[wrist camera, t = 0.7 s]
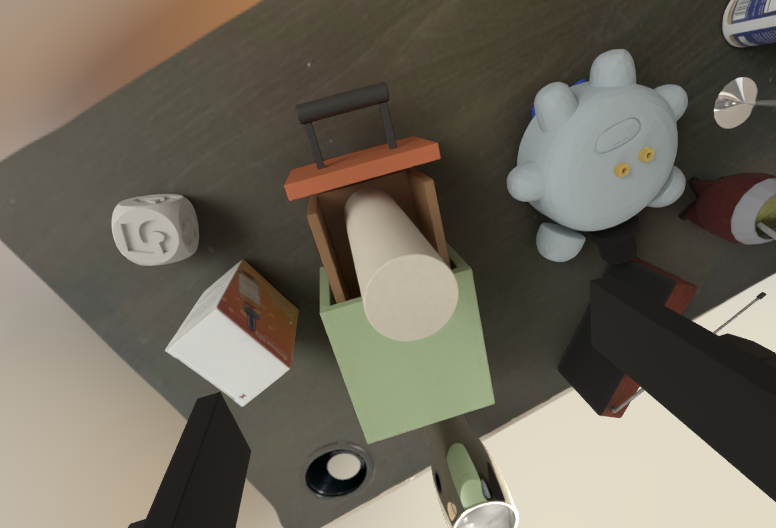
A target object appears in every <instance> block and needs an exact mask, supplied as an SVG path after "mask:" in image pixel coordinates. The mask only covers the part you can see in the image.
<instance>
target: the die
mask: <svg viewBox="0 0 776 528" xmlns="http://www.w3.org/2000/svg"><path fill="white" fill-rule="evenodd" d="M112 232H113V237H114V240H115V243H116V245H117V247H118V249H119V251H120V252H121V253H122V254H123V255H124V256H125V257H126V258H128V259H129V260H131V261H132V262H134V263H136V264H139V265H145V266H153V265H163V264H169V263H173V262H177V261H180V260H183V259H186V258H188V257H190V256H192V255H193V254H194V253H195V251H196V250H197V247H198V243H199V226H198V220H197V216H196V213H195V210H194V207H193V205H192V204H191V202H190V201H189V200H187V199H186V198H185V197H183V196H182V195H178V194H157V195H147V196H140V197H135V198H130V199H126V200H123V201H121V202H119V203H118V204H117V206H116V207H115V209H114V211H113V215H112Z"/></svg>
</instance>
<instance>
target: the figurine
mask: <svg viewBox="0 0 776 528" xmlns="http://www.w3.org/2000/svg"><path fill="white" fill-rule="evenodd" d="M687 105H688V98H687V93H686V92H685V91H684V90H683V88H682V87H680V86H677V85H669V84H668V85H663V86H659V87H657V88H655V89H653V90H652V89H651V88H648V87H646V86H643V85H638V84H636V70H635V66H634V62H633V58H632V56H631V55H630V53H629V52H628V51H626V50H624V49H614V50H609V51H607V52H605V53H602V54H600V55H599V56H598V57H597V58H596V59H595V61H594V63H593V64H592V67H591V71H590V82H586V80H585V79H581V80H579V81H578V82H576V83H575V84H574V85H573V86H571V87H569V86H568V85H567V84H564V83H561V82H554V83H550V84H548V85H547V86H545V87H544V88H542V89H541V90H540V91H539V92H538V94H537V95H536V97H535V101H534V107H532V118H533V119H532V120H531V122H530V124H529V125H528V127H527V129H526V131H525V133H524V135H523V138H522V141H521V143H520V147H519V152H518V158H517V167H515V168H514V169H513V170H512V171H511V172H510V173H509V175H508V177H507V188H508V191H509V193H510V194H511V195H512V196H513V198H515V199H517V200H519V201H523V202H529V203H530V204H531V205H532V206H533V207H534V208H535V209H536V210H538V211H539V212H540V213H542V214H544V215H545V216H547V217H549V218H550V219H552V220H554V221H555V222H557V223H559V224H561V225H563V226H561V225H557V224H553V223H542V224H541V226H540V228H539V230H538V233H537V237H536V244H537V248H538V251H539V252H540V254H541V255H542V256H544V257H545V258H547V259H549V260H551V261H555V262H565V261H568V260H570V259H572V258H573V257H575V256H576V255H577V254H578V253H579V251H580V250H581V248H582V246H583V244H584V242H585V240H586V238H585V237H584V236H583V235H582V234H580V233H578V232H576V231H574V230H579V231H588V234H589V237H590V238H591V239H592V240H594V241H596V242H598V246H599V251H600V255H601V257H602V259H603V260H605V261H606V262H608V263H612V264H620V263H624V262H627V261H630V260H631V259H632V258H634V256H635V255H636V244H635V238H634V235H635V234H636V233H637V232H638V231H639V229H640V221H639V218H638V217H637V216H636V214H637V213H638V212H640V211H641V210H642V209H643V208H645V207H646V206H648V207H664V206H667V205H670V204H672V203H674V202H675V201H676V200H677V199H678V198H679V197H680V196H681V195H682V193H683V192H684V189H685V183H686V180H685V176H684V174H683V173H682V172H681V170H680V169H679V168H677V167H676V166H674V165H673V164H674V161H675V158H676V153H677V147H678V133H677V125H676V121H677V120H678V119H679V118H680V117H681V116H682V115H683V114H684V112H685V110H686V108H687ZM565 226H566V227H565ZM570 228H571V229H570ZM572 229H574V230H572Z"/></svg>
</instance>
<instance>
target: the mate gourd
mask: <svg viewBox="0 0 776 528" xmlns="http://www.w3.org/2000/svg"><path fill="white" fill-rule="evenodd" d="M688 183H689V185H690V187H691V188H692V190H693V192H694V193H695V195H696V197H697V198H696V200H695V201H694V202H693V203H691V204H690V205H689V206H688V207H687V208H686V209H685V210H684V211H682V212H681V213H680V214H679V218H680V219H682V220H686V219H688V220H690V221H691V222H693V223H694V224H695V225H697V226H698V227H701V228H703V229H705V230H707V231H709V232H711V233H712V234H714V235H716V236H719V237H721V238H723V239H725V240H728V241H730V242H734V243H740V244H761V243H766V242H770V241H772V240H776V177H775V176H773V175H769V174H765V173H742V174H734V175H730V176H727V177H721V178H720V179H719V180H717V181H699V180H698V178H694V177H693V178H692V179H690V180H689V182H688Z"/></svg>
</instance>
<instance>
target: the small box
mask: <svg viewBox="0 0 776 528" xmlns="http://www.w3.org/2000/svg"><path fill="white" fill-rule="evenodd" d="M298 312H299V310H298V308H296V307H295V306H294V305H293V304H292V303H290V302H289V301H288V300H287V299H286V298H285V297H284V296H283V295H281V294H280V293H279V292H278V291H277V290H276V289H275V288H274V287H273V286H272V285H271V284H270V283H269V282H268V281H266V280H265V279H264V278H263V277H262V276H261V275H260V274H259V273H258V272H257V271H256V270H255V269H254V268H252V267H251V266H250V265H249V264H248V263H247V262H246V261H245V260H241V261H240V262H238V263H237V264H236V265H235V266H234V267H232V268H231V269H230V270H229V271H228V272H226V273H225V274H224V275H223V276H222V277H221V278H219V279H218V280H217V281H216V282H215V283H214V284H212V285H211V286H210V287H209V288H208V289H207V290H206V291H204V293H203V294H202V296H201V297H200V299H199V300H198V302H197V303H196V304H195V306H194V307H193V309H192V310H191V312H190V313H189V315H188V316H187V318H186V319H185V321H184V322H183V324H182V325H181V327H180V328H179V330H178V331H177V333H176V334H175V336H174V337H173V339H172V340H171V342H170V343H169V345H168V346H167V348H166V352H167V353H169V354H170V355H172V356H173V357H175V358H177V359H178V360H180V361H181V362H183V363H184V364H185V365H187V366H188V367H190V368H191V369H192V370H194V371H195V372H197V373H198V374H199V375H201V376H202V377H203V378H205V379H206V380H208V381H209V382H210V383H212V384H213V385H214V386H216V387H217V388H219V389H220V390H221V391H223V392H224V393H225V394H227V395H228V396H229V397H230V398H232V399H233V400H234V401H235V402H236V403H238V404H239V405H240V406H241V407H243V406H244V405H246V404H247V403H248V402H249V401H251V400H252V399H253V398H254V397H256V396H257V395H258V394H260V393H261V392H262V391H263V390H265V389H266V388H267V387H268V386H270V385H271V384H272V383H273V382H275V381H276V380H277V379H278V378H280V377H281V376H282V375H283V374H284V373H286V372H287V371H288V370H289V369H290V368H291V361H292V355H293V347H294V340H295V333H296V327H297V319H298Z"/></svg>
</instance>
